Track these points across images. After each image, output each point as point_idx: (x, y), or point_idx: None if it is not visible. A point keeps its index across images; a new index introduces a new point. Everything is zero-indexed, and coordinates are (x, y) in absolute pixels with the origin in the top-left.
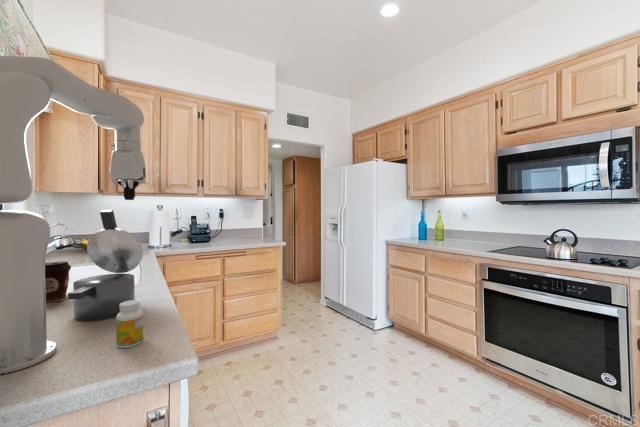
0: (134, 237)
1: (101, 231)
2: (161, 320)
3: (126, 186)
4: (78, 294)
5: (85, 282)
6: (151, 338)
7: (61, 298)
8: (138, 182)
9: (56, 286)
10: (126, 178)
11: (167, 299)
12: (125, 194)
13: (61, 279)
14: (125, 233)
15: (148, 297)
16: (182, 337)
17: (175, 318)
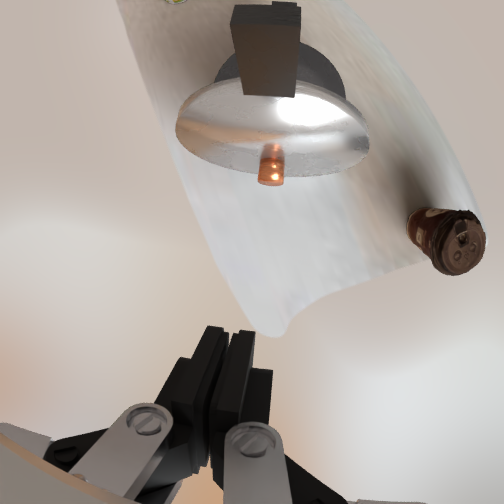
0: (181, 110)
1: (309, 85)
2: (158, 58)
3: (220, 455)
4: (275, 2)
5: (312, 72)
6: (156, 5)
7: (411, 218)
8: (52, 458)
9: (428, 214)
10: (107, 500)
11: (179, 173)
12: (239, 358)
13: (428, 224)
14: (204, 87)
15: (227, 197)
16: (120, 11)
17: (138, 66)
